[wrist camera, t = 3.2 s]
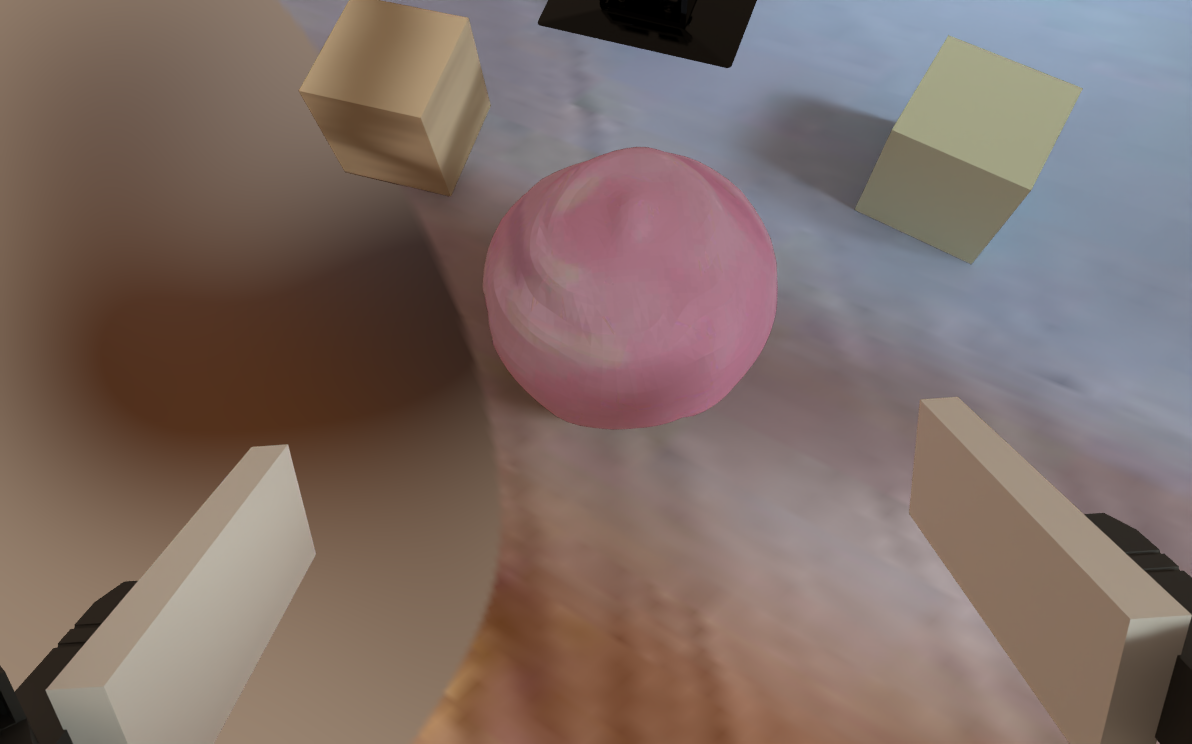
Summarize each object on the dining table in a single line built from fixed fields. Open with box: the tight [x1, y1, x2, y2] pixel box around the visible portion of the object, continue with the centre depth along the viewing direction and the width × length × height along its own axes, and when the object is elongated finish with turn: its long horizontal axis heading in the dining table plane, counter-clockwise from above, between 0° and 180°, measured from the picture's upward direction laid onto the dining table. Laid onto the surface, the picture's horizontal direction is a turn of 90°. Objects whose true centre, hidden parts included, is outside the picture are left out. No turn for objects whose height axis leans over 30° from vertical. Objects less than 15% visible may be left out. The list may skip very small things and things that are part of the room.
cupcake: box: [483, 147, 777, 430], centre depth 25 cm, size 9×9×10 cm
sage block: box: [855, 35, 1083, 264], centre depth 30 cm, size 5×5×5 cm
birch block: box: [299, 0, 491, 196], centre depth 32 cm, size 5×5×5 cm
